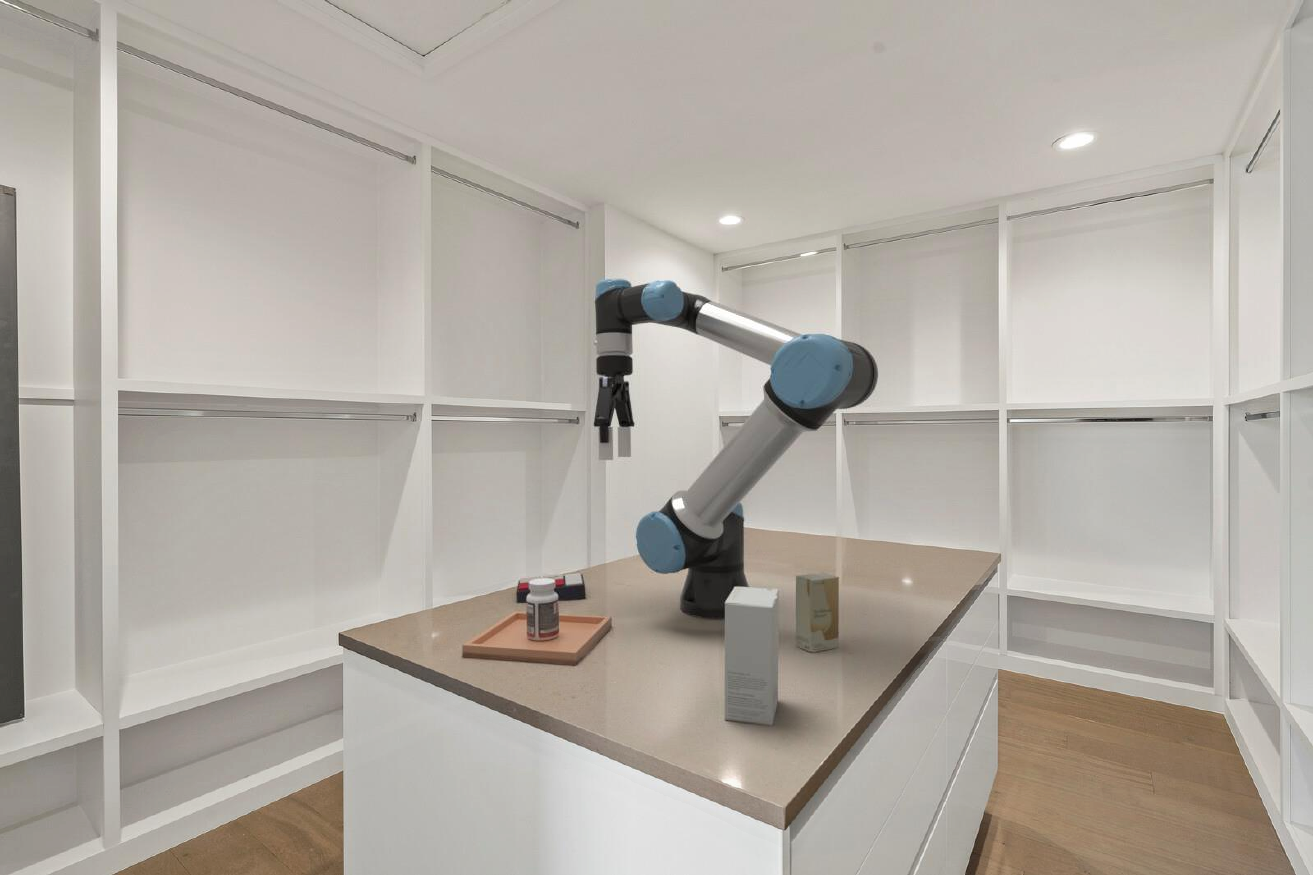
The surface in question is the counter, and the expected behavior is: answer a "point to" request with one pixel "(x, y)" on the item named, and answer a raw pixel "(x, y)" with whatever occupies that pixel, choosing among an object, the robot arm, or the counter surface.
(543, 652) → the tray
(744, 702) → the skincare box
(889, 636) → the counter surface
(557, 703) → the counter surface
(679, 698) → the counter surface
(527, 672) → the counter surface
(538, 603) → the pill bottle
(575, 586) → the calculator
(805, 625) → the skincare box
